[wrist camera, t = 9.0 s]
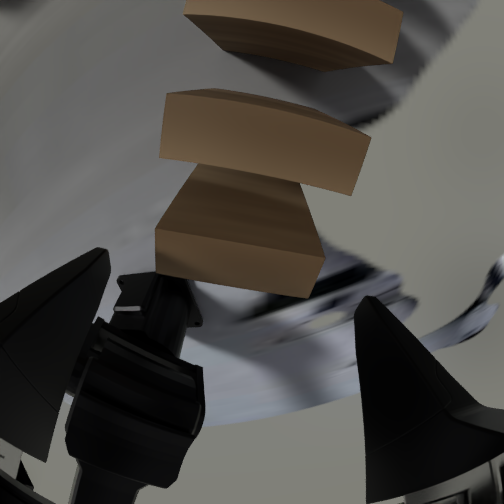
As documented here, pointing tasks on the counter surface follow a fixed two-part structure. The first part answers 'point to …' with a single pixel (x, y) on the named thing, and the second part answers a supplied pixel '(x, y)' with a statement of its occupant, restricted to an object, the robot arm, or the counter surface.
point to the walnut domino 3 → (240, 233)
